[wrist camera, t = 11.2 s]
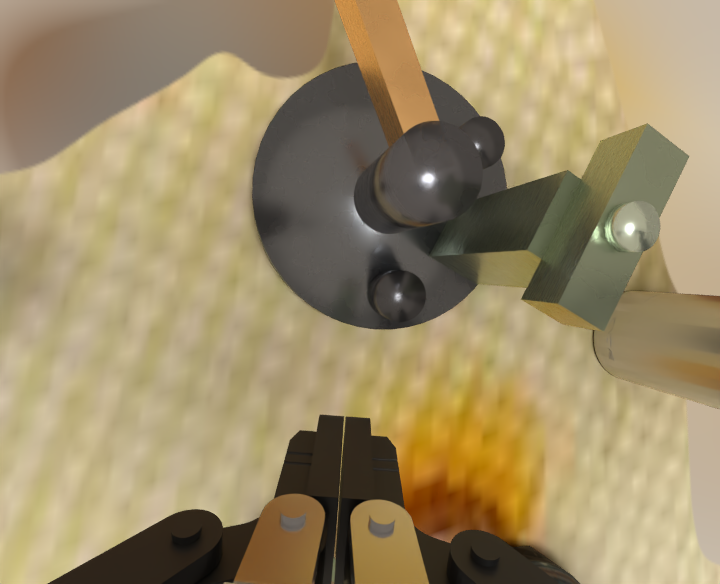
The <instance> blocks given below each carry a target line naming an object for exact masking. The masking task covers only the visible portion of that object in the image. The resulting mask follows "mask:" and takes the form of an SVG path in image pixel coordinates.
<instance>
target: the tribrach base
mask: <svg viewBox="0 0 720 584" xmlns="http://www.w3.org/2000/svg"><path fill="white" fill-rule="evenodd" d="M422 73H423V76H424V79H425V82H426V84H427V87H428V90H429V93H430V96H431V99H432V102H433V104H434V107H435V110H436V113H437V116H438V119H439V121H443V122H447V123H450V124H452V125H455V126H457V127H458V128H460V129H461V130H462V131H464V132H465V133H466V134H467V135H468V136H469V137H470V138H471V140H472V141H473V142H474V144H475V146H476V147H477V149H478V152H479V154H480V157H481V161H482V167H483V180H482V185H481V189H480V192H479V194H478V196H477V199H476V200H475V202H474V203H473V205H472V206H471V207H470V208H469V209H468V210H467V211H466V212H465V213H463V214H462V215H460V216H459V217H457V218H455V219H452V220H449V221H444V222H440V223H436V224H432V225H428V226H424V227H420V228H416V229H412V230H408V231H404V232H400V233H396V234H384V233H380V232H377V231H375V230H373V229H371V228H370V227H368V226H367V225H366V224H365V223H364V222H363V221H362V219H361V218H360V216H359V215H358V213H357V211H356V207H355V203H354V189H355V185H356V182H357V180H358V178H359V176H360V175H361V173H362V172H363V171H364V170H365V169H366V168H367V167H368V166H369V165H371V164H372V163H373V162H374V161H375V160H376V159H377V158H378V157H379V156H380V155H381V154H382V153H384V152H385V151H386V150H387V149H388V148H389V146H388V143H387V140H386V138H385V135H384V132H383V130H382V127H381V124H380V122H379V119H378V116H377V114H376V111H375V108H374V105H373V103H372V100H371V97H370V95H369V92H368V89H367V87H366V84H365V81H364V79H363V76H362V73H361V70H360V68H359V65H358V63H352V64H348V65H345V66H341V67H338V68H334V69H332V70H330V71H328V72H325V73H323V74H321V75H319V76H317V77H316V78H314V79H312V80H311V81H309V82H308V83H306V84H304V85H303V86H302V87H301V88H300V89H299V90H297V91H296V92H295V93H294V94H293V95H292V96H290V98H289V99H288V100H287V101H286V102H285V103H284V104H283V106H282V107H281V108H280V109H279V110H278V112H277V113H276V115H275V117H274V118H273V120H272V121H271V123H270V124H269V126H268V128H267V130H266V132H265V135H264V137H263V139H262V141H261V144H260V147H259V151H258V154H257V157H256V161H255V167H254V174H253V190H252V198H253V208H254V217H255V222H256V226H257V230H258V234H259V237H260V240H261V242H262V245H263V248H264V250H265V252H266V254H267V256H268V258H269V260H270V262H271V263H272V265H273V267H274V269H275V270H276V271H277V273H278V274H279V275H280V277H281V278H282V279H283V281H284V282H285V283H286V284H287V285H288V286H289V287H290V288H291V289H292V290H293V291H294V292H295V294H297V295H298V296H299V297H300V298H302V299H303V300H304V301H305V302H307V303H308V304H309V305H310V306H312V307H314V308H315V309H317V310H319V311H320V312H322V313H323V314H325V315H327V316H329V317H331V318H334V319H336V320H338V321H341V322H343V323H347V324H350V325H354V326H357V327H363V328H370V329H397V328H405V327H410V326H414V325H417V324H421V323H424V322H427V321H429V320H431V319H434V318H436V317H438V316H440V315H442V314H443V313H445V312H447V311H448V310H450V309H452V308H453V307H454V306H456V305H457V304H458V303H459V302H461V301H462V300H463V299H464V298H465V297H466V296H467V295H468V294H469V293H470V292H471V291H472V290H473V289H474V288H475V287H476V286H477V285H478V284H483V285H497V286H510V287H523V288H527V289H526V291H525V293H524V295H523V297H522V299H521V300H523V301H525V302H526V303H528V304H530V305H531V306H533V307H535V308H536V309H538V310H540V311H541V312H543V313H545V314H546V315H548V316H550V317H552V318H553V319H555V320H557V321H558V322H560V323H562V324H565V325H570V326H576V327H581V328H586V329H592V330H597V331H602V332H604V330H605V328H606V326H607V324H608V322H609V320H610V318H611V316H612V314H613V312H614V310H615V308H616V306H617V304H618V302H619V300H620V298H621V296H622V294H623V291H624V289H625V287H626V285H627V283H628V281H629V279H630V277H631V275H632V273H633V271H634V269H635V267H636V265H637V263H638V261H639V259H640V257H641V255H642V252H643V251H645V250H647V249H649V248H650V247H652V246H653V245H654V243H655V242H656V240H657V238H658V236H659V232H660V219H659V217H660V216H661V213H662V211H663V209H664V207H665V205H666V203H667V201H668V199H669V197H670V195H671V193H672V191H673V189H674V187H675V185H676V183H677V181H678V179H679V176H680V174H681V172H682V170H683V168H684V166H685V164H686V162H687V160H688V158H689V156H688V155H687V154H686V153H684V152H683V151H682V150H681V149H679V148H678V147H677V146H675V145H674V144H673V143H672V142H670V141H669V140H668V139H667V138H665V137H664V136H663V135H661V134H660V133H659V132H658V131H656V130H655V129H654V128H653V127H651V126H650V125H649V124H645V125H642V126H640V127H637V128H634V129H631V130H629V131H626V132H623V133H621V134H618V135H615V136H612V137H610V138H607V139H604V140H602V141H600V143H599V145H598V147H597V149H596V151H595V153H594V155H593V157H592V159H591V161H590V163H589V165H588V167H587V169H586V171H585V173H584V175H583V177H582V179H579V178H578V177H577V176H575V175H574V174H572V173H571V172H570V171H568V170H567V171H564V172H560V173H557V174H554V175H551V176H548V177H545V178H541V179H538V180H535V181H532V182H529V183H525V184H522V185H519V186H516V187H513V188H510V189H507V187H506V179H505V173H504V168H503V164H502V161H501V156H502V154H503V151H504V147H505V140H504V135H503V132H502V130H501V128H500V127H499V125H498V124H497V123H496V122H495V121H493V120H492V119H490V118H488V117H483V116H479V114H478V113H477V112H476V110H475V109H474V108H473V107H472V106H471V105H470V104H469V103H468V102H467V100H466V99H465V98H464V97H463V96H462V95H460V94H459V93H458V92H457V91H456V90H454V89H453V88H452V87H451V86H449V85H448V84H446V83H445V82H443V81H441V80H440V79H438V78H437V77H435V76H433V75H431V74H429V73H426V72H424V71H422Z"/></svg>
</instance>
